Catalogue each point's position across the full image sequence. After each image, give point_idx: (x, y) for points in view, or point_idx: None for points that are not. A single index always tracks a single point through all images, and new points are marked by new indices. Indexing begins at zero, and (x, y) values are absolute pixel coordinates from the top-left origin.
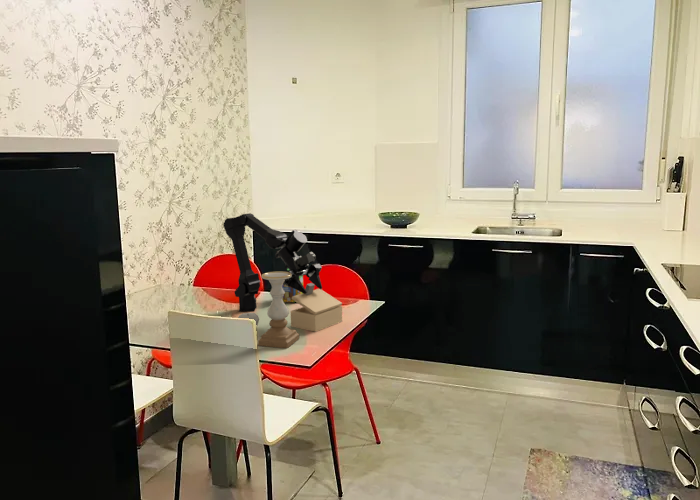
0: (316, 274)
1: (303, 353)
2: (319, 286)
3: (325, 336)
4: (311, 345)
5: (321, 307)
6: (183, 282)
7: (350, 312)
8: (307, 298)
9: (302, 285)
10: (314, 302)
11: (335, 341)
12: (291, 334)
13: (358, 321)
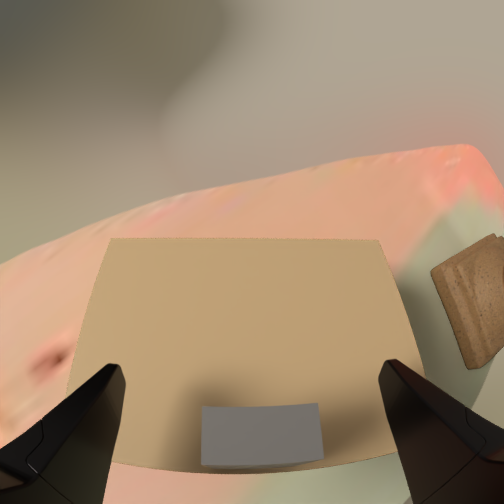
0: (20, 484)
1: (469, 182)
2: (115, 397)
3: (355, 210)
4: (434, 197)
5: (301, 258)
6: None
7: (21, 326)
8: (329, 383)
9: (437, 408)
10: (310, 317)
11: (365, 158)
12: (482, 247)
13: (114, 220)
